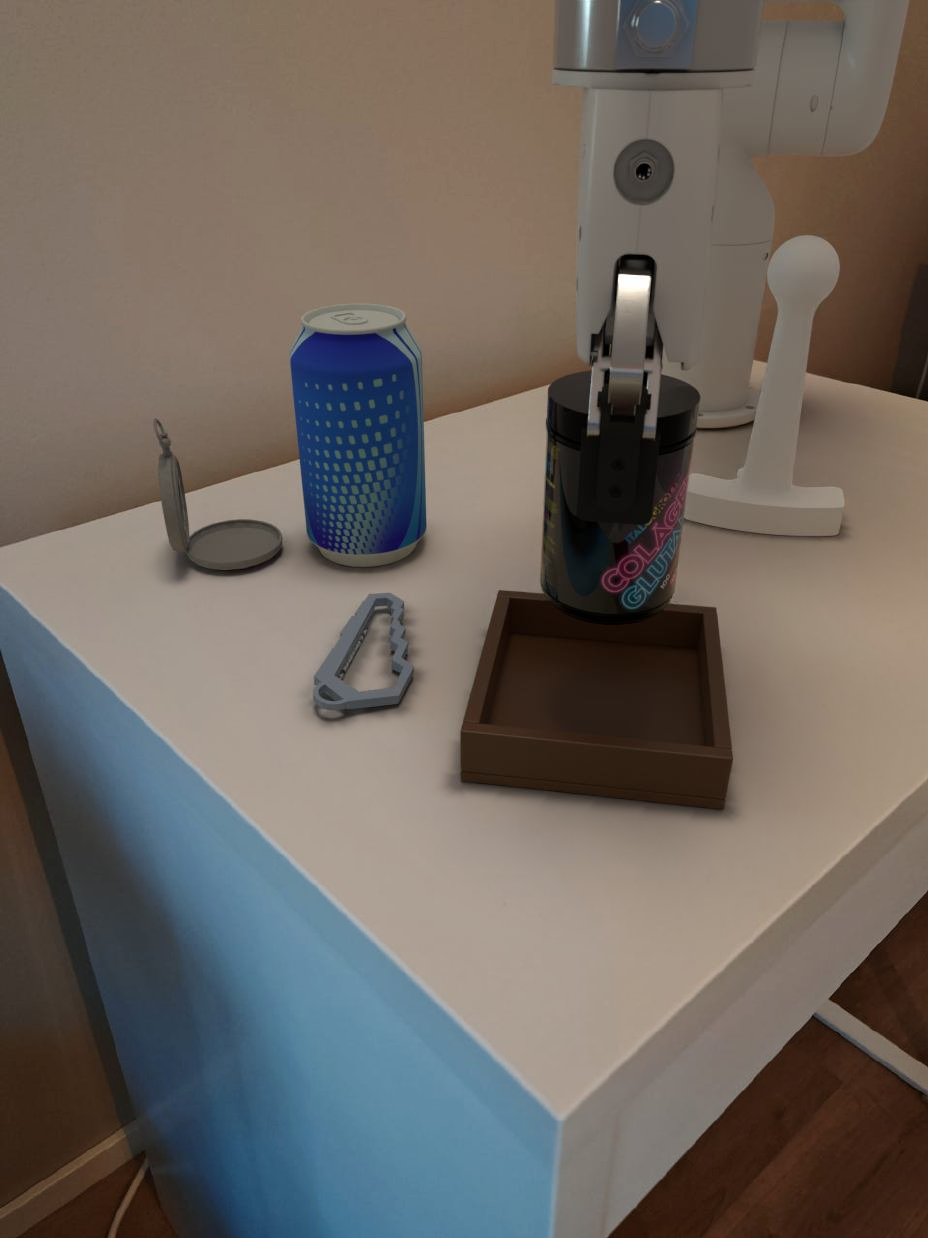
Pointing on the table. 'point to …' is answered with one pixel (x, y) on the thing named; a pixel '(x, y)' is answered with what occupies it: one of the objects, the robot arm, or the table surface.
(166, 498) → the pocket watch
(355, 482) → the beer can
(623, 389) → the robot arm
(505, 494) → the table surface
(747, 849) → the table surface
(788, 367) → the joystick
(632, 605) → the supplement container
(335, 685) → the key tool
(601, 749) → the tray
